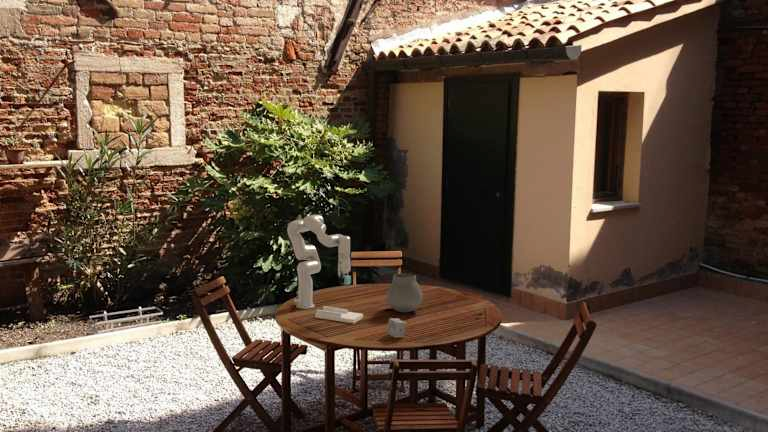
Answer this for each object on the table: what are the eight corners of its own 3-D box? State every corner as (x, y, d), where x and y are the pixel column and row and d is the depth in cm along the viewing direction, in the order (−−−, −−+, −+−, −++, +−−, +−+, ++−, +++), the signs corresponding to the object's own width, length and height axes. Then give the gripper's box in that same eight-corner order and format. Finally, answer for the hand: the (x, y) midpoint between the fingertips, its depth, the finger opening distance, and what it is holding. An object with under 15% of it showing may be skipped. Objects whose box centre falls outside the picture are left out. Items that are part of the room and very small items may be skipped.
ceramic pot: (427, 308, 486) (428, 273, 482) (413, 318, 464) (414, 281, 460) (394, 304, 496) (395, 269, 492) (380, 312, 474) (380, 276, 470)
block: (340, 284, 457) (340, 276, 456) (344, 282, 462) (344, 274, 461) (347, 285, 455) (347, 277, 454) (350, 283, 460) (350, 275, 459)
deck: (315, 317, 461) (315, 310, 460) (325, 311, 473) (325, 305, 473) (353, 323, 450) (353, 316, 449) (363, 317, 462) (363, 310, 462)
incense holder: (406, 337, 424) (407, 321, 423) (394, 339, 420) (395, 322, 419) (398, 333, 433) (398, 316, 431) (386, 334, 429) (387, 318, 427)
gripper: (343, 258, 447) (342, 286, 450) (355, 253, 462) (354, 280, 465) (332, 257, 450) (332, 284, 453) (344, 252, 465) (344, 279, 468)
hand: (343, 282), depth 459 cm, fingers closed on block, 5 cm apart
